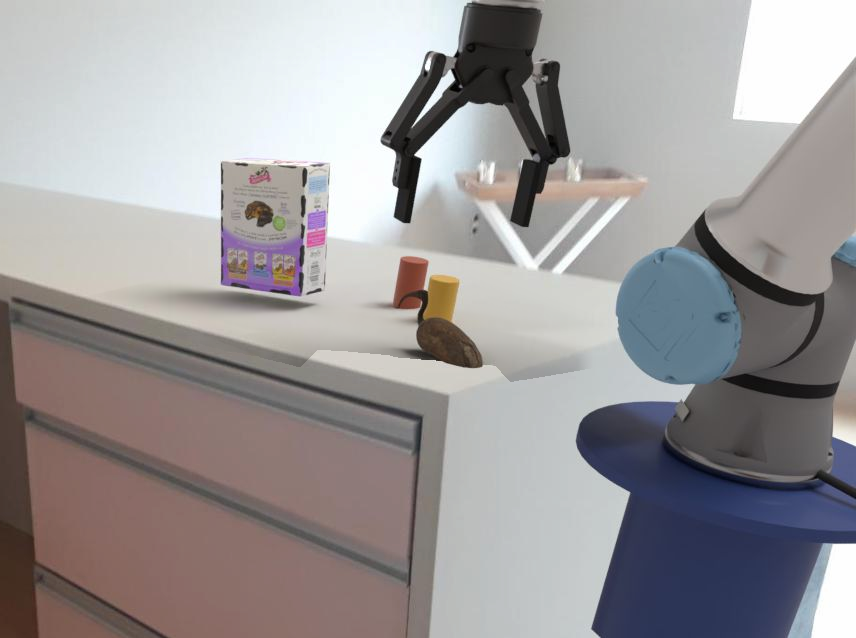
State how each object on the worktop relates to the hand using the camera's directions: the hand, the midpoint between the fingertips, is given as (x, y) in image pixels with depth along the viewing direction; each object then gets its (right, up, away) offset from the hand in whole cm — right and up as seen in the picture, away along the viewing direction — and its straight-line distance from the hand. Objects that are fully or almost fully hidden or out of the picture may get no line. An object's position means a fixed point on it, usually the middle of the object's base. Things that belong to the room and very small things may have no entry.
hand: (461, 222), depth 122 cm
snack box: (-17, 0, +33) cm, 37 cm away
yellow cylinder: (+2, -8, +22) cm, 23 cm away
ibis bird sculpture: (-1, -15, +7) cm, 17 cm away
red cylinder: (0, -4, +30) cm, 30 cm away
